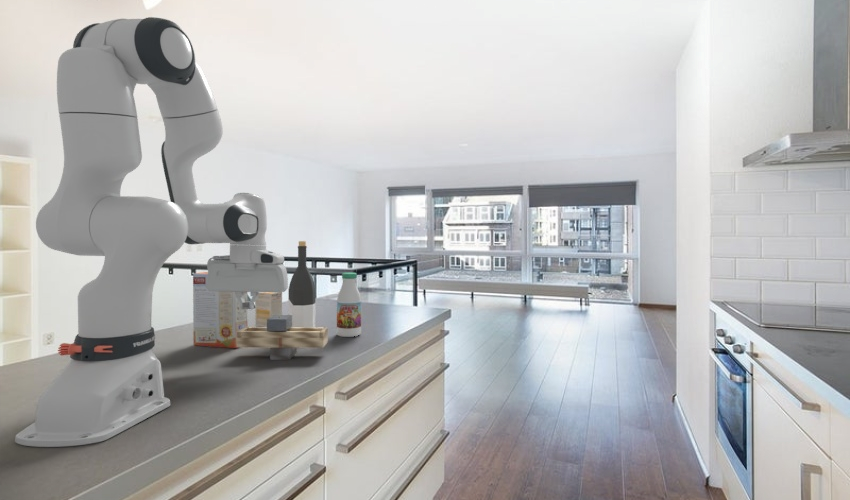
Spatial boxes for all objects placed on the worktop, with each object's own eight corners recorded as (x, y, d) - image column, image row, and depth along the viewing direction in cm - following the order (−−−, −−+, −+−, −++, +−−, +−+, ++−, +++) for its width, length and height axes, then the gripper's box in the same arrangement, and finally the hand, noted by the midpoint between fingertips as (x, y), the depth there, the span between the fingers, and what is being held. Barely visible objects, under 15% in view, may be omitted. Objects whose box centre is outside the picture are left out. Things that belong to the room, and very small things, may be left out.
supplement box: (283, 331, 144) (283, 291, 144) (271, 334, 140) (271, 293, 140) (266, 328, 149) (266, 289, 148) (254, 330, 144) (254, 291, 144)
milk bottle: (334, 333, 142) (334, 272, 141) (357, 331, 146) (357, 271, 145) (340, 338, 135) (340, 274, 134) (364, 336, 139) (364, 273, 138)
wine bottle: (317, 339, 134) (317, 241, 132) (289, 341, 131) (289, 241, 129) (313, 333, 141) (313, 241, 140) (287, 335, 138) (287, 240, 137)
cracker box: (248, 344, 127) (248, 272, 126) (235, 349, 121) (234, 274, 121) (207, 340, 131) (207, 270, 130) (192, 345, 125) (192, 272, 124)
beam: (327, 352, 120) (328, 326, 120) (322, 359, 113) (323, 332, 113) (246, 352, 119) (246, 326, 119) (236, 359, 112) (236, 332, 112)
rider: (292, 332, 119) (292, 315, 118) (286, 337, 113) (286, 319, 113) (273, 331, 118) (273, 315, 118) (266, 336, 113) (266, 319, 113)
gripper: (201, 255, 111) (200, 310, 111) (283, 257, 112) (282, 311, 112) (212, 255, 117) (211, 307, 117) (290, 256, 118) (289, 308, 118)
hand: (247, 309), depth 114 cm, fingers closed
